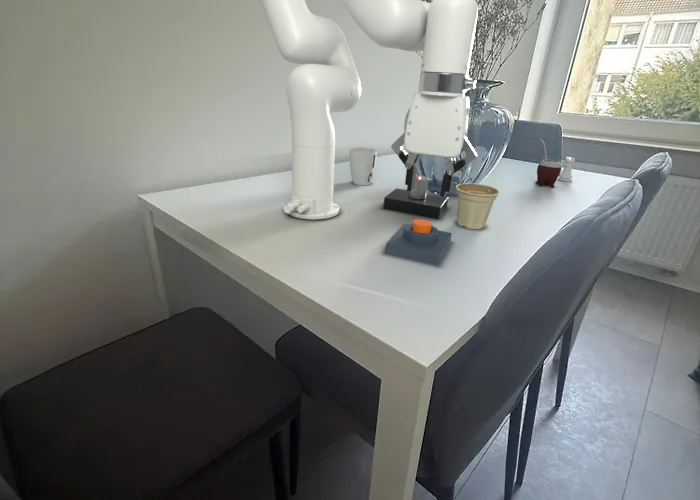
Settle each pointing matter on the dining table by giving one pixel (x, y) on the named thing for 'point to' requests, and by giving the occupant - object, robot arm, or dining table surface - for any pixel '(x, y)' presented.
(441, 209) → the panel
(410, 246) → the button housing
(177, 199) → the dining table surface
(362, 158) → the cup
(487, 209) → the flower pot
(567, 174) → the rook chess piece
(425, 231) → the button
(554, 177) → the mate gourd
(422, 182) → the dial
